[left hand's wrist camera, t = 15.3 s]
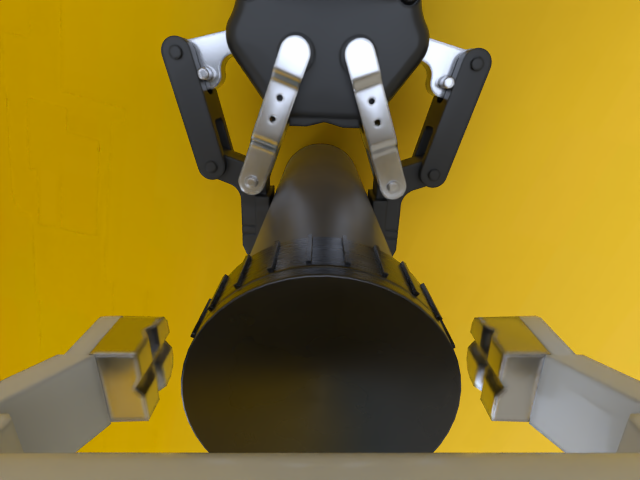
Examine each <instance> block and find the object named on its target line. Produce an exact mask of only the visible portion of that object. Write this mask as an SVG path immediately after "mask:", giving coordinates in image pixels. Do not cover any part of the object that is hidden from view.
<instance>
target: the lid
mask: <svg viewBox="0 0 640 480" xmlns="http://www.w3.org/2000/svg"><path fill="white" fill-rule="evenodd" d="M191 337H192V338H194V339H193V341H192V343H191V345H190V347H189V349H188V352H187V355H186V358H185V361H184V364H183V370H182V377H181V395H182V400H183V406H184V410H185V413H186V416H187V419H188V422H189V424H190V426H191V428H192V430H193V432H194V433H195V435H196V437H197V438H198V440H199V441H200V442H201V444H202V445H203V446H204V448H205V449H206V450H207V451H208V452H209V453H433V452H434V451H435V450H436V449H437V448H438V447H439V445H440V444H441V443H442V441H443V440H444V438H445V437H446V435H447V434H448V432H449V430H450V428H451V426H452V424H453V422H454V420H455V417H456V413H457V410H458V407H459V401H460V394H461V374H460V369H459V364H458V360H457V357H456V355H455V352H454V349H453V348H455V345H454V342H453V340H452V338H451V337H450V335H449V333H448V331H447V329H446V327H445V325H444V323H443V321H442V317H441V315H440V313H439V311H438V309H437V307H436V305H435V303H434V301H433V299H432V298H431V296H430V294H429V292H428V290H427V288H426V286H425V284H424V283H422V284H421V285H420V283H419V282H418V281H417V280H416V278H415V277H414V276H413V275H412V274H411V273H410V272H409V269H408V267H407V265H406V263H404V262H403V261H402V262H401V263H399V262H398V261H397V260H395V259H394V258H392V257H391V256H390V255H388V254H386V253H384V252H382V251H380V248H379V246H377V245H374V247H372V246H369V245H366V244H364V243H361V242H357V241H353V240H349V239H347V236H343V235H342V238H336V237H313V234H308V237H305V238H298V239H292V240H289V241H285V242H281V243H280V242H279V240H278V241H275V242H274V245H273V246H270V247H268V248H265V249H263V250H261V251H260V252H258V253H256V254H254V255H253V256H250V255H249V254H248V255H247V256H246V257H245V259H244V261H243V263H241V264H240V265H239V266H238V267H237V268H236V269H235V270H234V271H233V272H232V273H231V274H230V275H229V276H227V275H226V274H225V275H224V276H223V278H222V280H221V282H220V284H219V286H218V288H217V290H216V292H215V294H214V296H213V298H212V299H209V301H208V303H207V304H206V306H205V308H204V310H203V312H202V314H201V316H200V318H199V320H198V322H197V324H196V326H195V328H194V330H193V332H192V334H191Z"/></svg>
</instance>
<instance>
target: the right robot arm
mask: <svg viewBox="0 0 640 480" xmlns="http://www.w3.org/2000/svg"><path fill="white" fill-rule="evenodd" d="M161 53H162V57H163V60H164V63H165V66H166V69H167V72H168V75H169V79H170V82H171V85H172V88H173V91H174V94H175V97H176V100H177V104H178V107H179V110H180V113H181V116H182V119H183V122H184V125H185V128H186V132H187V135H188V138H189V141H190V144H191V147H192V150H193V153H194V157H195V160H196V163H197V166H198V169H199V171H200V173H201V174H202V175H203V176H204V177H205V178H207V179H211V180H214V179H219V180H221V181H224V182H227V183H229V184H231V185H233V186H234V187H236V188H237V190H238V191H239V193H240V195H241V207H242V233H243V246H244V248H245V250H246V253H247V254H251V251H252V249H253V246H254V244H255V242H256V239H257V237H258V234H259V232H260V229H261V227H262V224H263V222H264V220H265V217H266V215H267V212H268V210H269V207H270V205H271V202H272V200H273V198H274V186H270V175H271V172H272V169H273V167H274V164H275V161H276V158H277V156H278V153H279V150H280V147H281V145H282V142H283V140H284V137H285V135H286V132H287V129H288V126H310V125H314V124H318V123H322V122H327V123H330V124H333V125H336V126H339V127H343V128H359V130H360V133H361V137H362V140H363V143H364V146H365V149H366V152H367V156H368V160H369V163H370V167H371V170H372V174H373V177H374V180H373V189H368V199H369V201H370V204H371V206H372V209H373V211H374V213H375V216H376V218H377V221H378V223H379V226H380V228H381V230H382V233H383V235H384V238H385V240H386V242H387V245H388V247H389V250H390V252H391V255H392V256H393V254H394V253H395V251H396V244H397V235H398V226H399V217H400V208H401V202H402V199H403V198H404V196H405V195H406V194H407V193H409V192H410V191H413V190H416V189H419V188H422V187H425V186H427V187H431V188H434V187H438V186H440V185H441V184H443V183H444V181H445V180H446V178H447V175H448V173H449V170H450V168H451V165H452V163H453V160H454V158H455V155H456V153H457V150H458V148H459V145H460V143H461V140H462V138H463V135H464V133H465V130H466V128H467V125H468V123H469V120H470V118H471V115H472V113H473V110H474V108H475V105H476V103H477V100H478V98H479V95H480V93H481V90H482V88H483V85H484V83H485V80H486V78H487V75H488V73H489V70H490V68H491V63H492V60H491V56H490V54H489V53H488V51H486V50H485V49H482V48H475V49H467V50H465V49H461V48H458V47H455V46H452V45H449V44H446V43H443V42H440V41H437V40H434V39H430V38H429V31H428V27H427V25H426V23H425V20H424V17H423V12H422V3H421V0H236V1H235V6H234V9H233V12H232V14H231V16H230V18H229V20H228V23H227V26H226V31H222V32H218V33H213V34H209V35H205V36H201V37H197V38H193V39H185V38H182V37H179V36H170V37H168V38H166V39H165V40H164V42H163V44H162V47H161ZM232 56H234V58H235V59H236V61H237V62H238V64H239V65H240V67H241V68H242V70H243V71H244V72H245V74H246V75H247V77H248V78H249V80H250V81H251V83H252V84H253V86H254V87H255V89H256V90H257V91H258V93H259V94H260V96H261V97H262V99H263V103H262V106H261V109H260V112H259V115H258V118H257V121H256V124H255V127H254V130H253V133H252V136H251V142H250V146H249V149H248V152H247V155H246V156H245V155H242V154H240V153H237V152H235V151H234V150H233V147H232V143H231V140H230V136H229V132H228V129H227V125H226V122H225V118H224V115H223V111H222V108H221V104H220V101H219V97H218V94H217V90H216V88H219V87H221V86H222V85H223V84H224V82H225V79H226V73H225V66H226V63H227V61H228V60H229V59H230V58H231V57H232ZM420 63H421V64H422V65H423V66H424V68H425V69H426V73H427V78H426V84H425V85H426V89H427V91H428V93H429V94H430V95H432V96H434V97H433V100H432V103H431V106H430V108H429V111H428V114H427V117H426V120H425V122H424V125H423V128H422V131H421V133H420V136H419V139H418V142H417V144H416V147H415V150H414V153H413V155H412V157H411V158H408V159H405V160H402V161H400V157H399V153H398V149H397V139H396V135H395V131H394V127H393V123H392V119H391V115H390V111H389V107H388V103H389V102H390V100H391V99H392V98H393V97H394V95H395V94H396V93H397V91H398V90H399V89H400V88H401V86H402V85H403V84H404V83H405V81H406V80H407V79H408V78H409V76H410V75H411V74H412V73H413V71H414V70H415V69H416V68H417V66H418V65H419V64H420Z"/></svg>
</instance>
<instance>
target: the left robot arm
mask: <svg viewBox="0 0 640 480" xmlns="http://www.w3.org/2000/svg"><path fill="white" fill-rule="evenodd" d="M168 334H169V326H168V321H167V320H166V319H165V318H164V317H144V316H104V317H100V318H99V319H98V320H97V321H96V322H95V323H94V324H93V325H92V326H91V327H90V328H89V329H88V330H87V331H86V332H85V333H84V335H83V336H82V337H81V338H80V339H79V340H78V341H77V342H76V343H75V344H74V345H73V346H72V347H71V348H70V349H69V350H68V351H67V352H66V353H65V354H64V355H56V356H54V357H52V358H49V359H47V360H45V361H43V362H41V363H39V364H36V365H34V366H32V367H30V368H28V369H26V370H23V371H21V372H19V373H17V374H15V375H13V376H10V377H8V378H6V379H4V380H2V381H0V480H640V381H638V380H636V379H634V378H632V377H630V376H627V375H625V374H623V373H621V372H619V371H617V370H614V369H612V368H610V367H608V366H606V365H604V364H601V363H599V362H597V361H595V360H593V359H591V358H588V357H586V356H584V355H576V354H575V353H574V352H573V351H572V350H571V349H570V348H569V347H568V346H567V345H566V344H565V343H564V342H563V341H562V340H561V339H560V338H559V336H558V335H557V334H556V333H555V332H554V331H553V330H552V329H551V328H550V327H549V326H548V325H547V324H546V323H545V322H544V321H543V320H542V319H541V318H540V317H538V316H515V317H478V318H474V320H473V322H472V326H471V334H472V336H473V337H474V339H475V341H474V342H473V343H472V344H471V345H470V346H469V347H468V352H467V369H468V373H469V377H470V379H471V381H472V383H473V386H475V387H476V388H478V389H479V390H481V391H482V393H481V401H482V403H483V405H484V407H485V409H486V411H487V413H488V415H489V417H490V419H491V421H519V422H529V424H530V425H532V426H533V427H534V428H535V429H537V430H538V431H539V432H540V433H541V434H543V435H544V436H545V437H546V438H548V439H549V440H550V441H551V442H553V443H554V444H555V445H556V446H558V447H559V448H560V449H561V450H562V451H564V452H565V453H75V452H76V451H78V450H79V449H80V448H81V447H83V446H84V445H85V444H86V443H88V442H89V441H90V440H91V439H93V438H94V437H95V436H96V435H97V434H99V433H100V432H101V431H102V430H104V429H105V428H106V427H107V426H109V425H110V424H111V422H121V421H149V419H150V417H151V415H152V413H153V411H154V409H155V407H156V405H157V403H158V401H159V393H158V391H159V390H161V389H162V388H164V387H165V386H167V384H168V381H169V379H170V377H171V373H172V368H173V351H172V347H171V346H170V345H169V344H168V343H167V342H166V341H165V339H166V337H167V336H168Z"/></svg>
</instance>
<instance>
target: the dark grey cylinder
mask: <svg viewBox="0 0 640 480" xmlns="http://www.w3.org/2000/svg"><path fill="white" fill-rule="evenodd" d="M308 234H313V237H336V238H342V235H343V236H347V239H349V240H353V241H357V242H361V243H364V244H366V245H369V246H372V247H374V245H377V246H379V248H380V251H382V252H384V253H386V254H388V255H390V256H391V257H392V255H391V252H390V250H389V247H388V245H387V242H386V240H385V238H384V235H383V233H382V230H381V228H380V226H379V223H378V221H377V218H376V216H375V213H374V211H373V209H372V206H371V204H370V201H369V199H368V197H367V194H366V192H365V189H364V187H363V184H362V182H361V180H360V177H359V175H358V172H357V170H356V168H355V165H354V163H353V161H352V160H351V159H350V157H349V156H348V155H347V154H346V153H345V152H343V151H342V150H341V149H339V148H337V147H335V146H332V145H328V144H313V145H309V146H307V147H304V148H302V149H301V150H299V151H298V152H297V153H295V154H294V155H293V156H292V158H291V159H290V160H289V162H288V164H287V166H286V168H285V171H284V173H283V176H282V178H281V180H280V183H279V185H278V188H277V190H276V193H275V195H274V198H273V200H272V202H271V205H270V207H269V210H268V212H267V215H266V217H265V220H264V222H263V224H262V227H261V229H260V232H259V234H258V237H257V239H256V242H255V244H254V246H253V249H252V251H251V254H250V256H253V255H254V254H256V253H258V252H260V251H261V250H263V249H265V248H268V247H270V246H273V245H274V242H275V241H278V240H279V242H280V243H281V242H285V241H289V240H292V239H298V238H305V237H308ZM392 258H393V257H392Z"/></svg>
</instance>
